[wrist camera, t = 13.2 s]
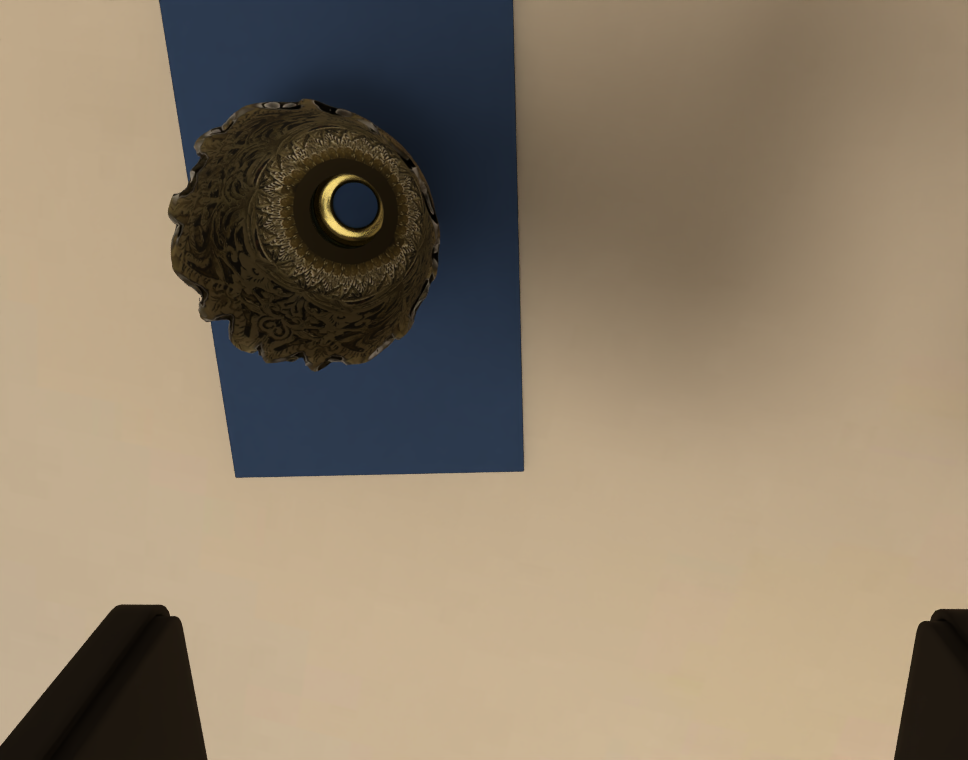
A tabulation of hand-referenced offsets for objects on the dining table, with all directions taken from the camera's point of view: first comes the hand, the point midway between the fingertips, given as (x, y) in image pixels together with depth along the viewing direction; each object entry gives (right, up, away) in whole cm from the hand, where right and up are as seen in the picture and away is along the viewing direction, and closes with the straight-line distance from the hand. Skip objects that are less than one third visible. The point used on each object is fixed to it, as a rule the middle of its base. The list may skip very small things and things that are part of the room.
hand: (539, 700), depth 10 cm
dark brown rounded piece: (-5, +11, +19) cm, 23 cm away
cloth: (-5, +11, +19) cm, 23 cm away
